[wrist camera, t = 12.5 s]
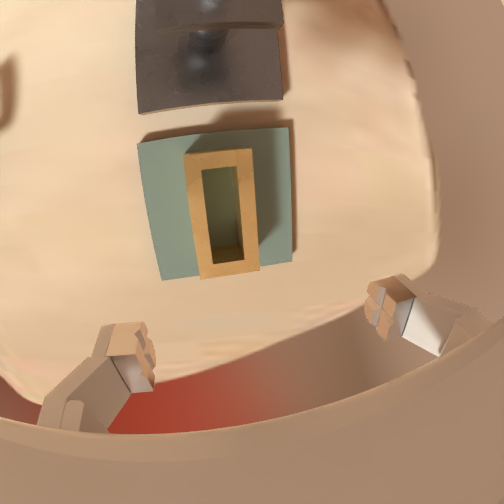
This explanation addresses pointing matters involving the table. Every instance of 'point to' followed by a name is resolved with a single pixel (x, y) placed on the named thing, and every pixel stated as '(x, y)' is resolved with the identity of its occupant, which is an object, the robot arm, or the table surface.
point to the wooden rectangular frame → (246, 251)
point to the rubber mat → (216, 197)
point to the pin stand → (206, 53)
